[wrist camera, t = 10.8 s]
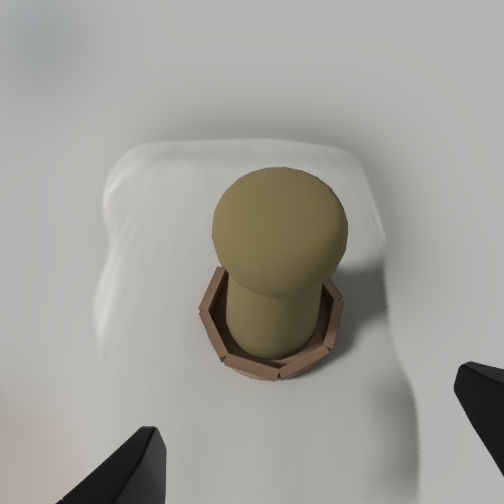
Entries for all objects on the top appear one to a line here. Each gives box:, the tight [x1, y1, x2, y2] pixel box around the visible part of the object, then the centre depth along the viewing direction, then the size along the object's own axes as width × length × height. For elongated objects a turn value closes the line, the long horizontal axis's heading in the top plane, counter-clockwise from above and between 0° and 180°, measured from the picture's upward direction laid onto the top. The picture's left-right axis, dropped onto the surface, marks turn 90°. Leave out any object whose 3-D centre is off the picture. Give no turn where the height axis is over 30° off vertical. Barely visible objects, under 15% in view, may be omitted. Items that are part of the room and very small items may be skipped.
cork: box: [212, 167, 348, 361], centre depth 15 cm, size 6×6×11 cm
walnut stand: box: [199, 264, 343, 381], centre depth 19 cm, size 9×9×2 cm
